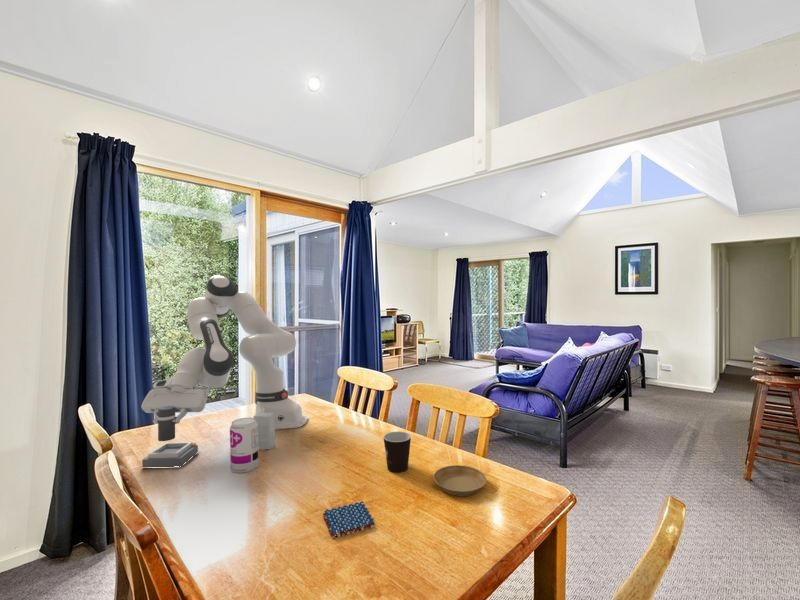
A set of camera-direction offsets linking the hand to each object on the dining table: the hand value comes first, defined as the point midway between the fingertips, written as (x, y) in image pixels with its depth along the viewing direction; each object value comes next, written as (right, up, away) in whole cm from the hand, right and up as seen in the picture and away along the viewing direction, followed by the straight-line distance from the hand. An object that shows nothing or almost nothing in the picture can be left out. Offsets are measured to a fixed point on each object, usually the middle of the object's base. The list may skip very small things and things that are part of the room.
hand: (165, 423), depth 124 cm
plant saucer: (+95, -12, -18) cm, 97 cm away
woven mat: (+65, -13, -34) cm, 75 cm away
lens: (0, -5, 0) cm, 5 cm away
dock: (+1, -13, +1) cm, 13 cm away
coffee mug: (+77, -12, -6) cm, 79 cm away
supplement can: (+28, -13, -5) cm, 32 cm away
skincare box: (+29, -13, +11) cm, 33 cm away
